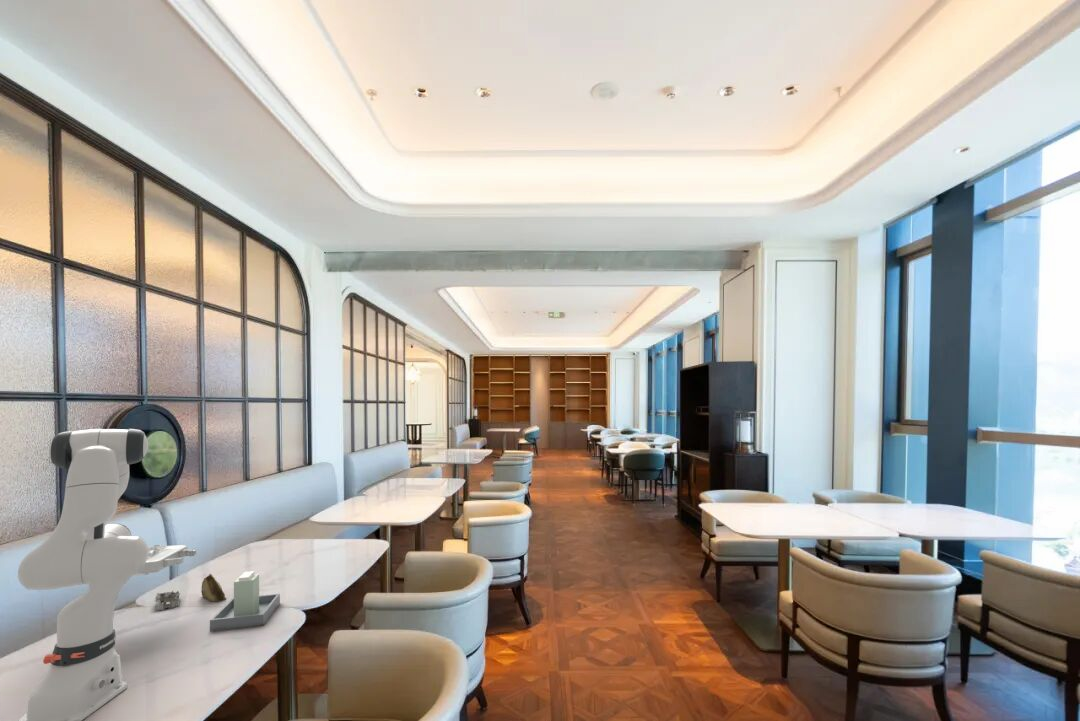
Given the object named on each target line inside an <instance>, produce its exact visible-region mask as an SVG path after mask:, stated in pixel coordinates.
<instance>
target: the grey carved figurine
mask: <svg viewBox="0 0 1080 721" xmlns="http://www.w3.org/2000/svg"><path fill="white" fill-rule="evenodd" d="M180 595H181V593H180V591H179V590H177V591H175V592H174V590H171V591H167V592H162V593H161V592H157V593H156V595H155V597H154V601H153V602H154V603H155V611H162V610H165V609H167V608H171V609H172V608H176V607H178V606H179V603H180ZM162 602H163V603H162Z"/></svg>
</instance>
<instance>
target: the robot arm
mask: <svg viewBox="0 0 1080 721" xmlns="http://www.w3.org/2000/svg"><path fill="white" fill-rule="evenodd" d="M148 451H149V439H148V437H147V435H146V434H145V432H144V431H142V430H141V429H135V428H128V429H120V428H118V429H117V428H107V429H105V428H92V429H83V430H75V431H74V430H68V431H63V432H59V433H58V434H56V435H55V436H53V438H52V441H51V442H50V444H49V447H48V456H49V458H50V461H51V463H52V465H54V466H55V467H57V468H60V469H63V470H64V471H68V472H67V475H66V476H67V477H66V482H65V489H64V498H63V505H62V510H61V515H60V519H59V521H58V523H57V525H56V527H55V529H54V530H53V531H52V532H51V534H50V535H49V536H48V537H47V538H46V540H44V541H43V542H42V543H41V544H40V545H39V546H37V547H36V548H34V549H33V550H30V552H28V553H27V554H26V555H25V556H24V558H23V559H22V560H21V562H20V564H19V565H18V570H17V578H18V581H19V583H20V585H21V586H23V587H24V589H27V590H30V591H38V590H39V591H42V590H43V591H47V590H58V589H63V588H68V587H69V588H70V587H75V586H82V585H88V591H87V592H86V593H84V594H82V595H80V596H78V597H77V598H75V599H73V600H71V601H70V602H68V603H67V604H65V605H64V606H63V607H62V608H61V610H60V611H59V612H58V614H57V618H56V643H55V645H54V648H53V650H52V653H51V654H46V655H44V657H43V664H44V665H48V664H50V666H49V668H48V669H47V670H46V672H45V674H44V675H43V676H42V678H41V679H40V681H39V683H38V684H37V686H36V687H35V689H34V691H33V692H32V693H31V695H30V696H29V699H28V703H27V709H26V710H27V711H26V712H25V713H24V714H23V715H22V716H21V717H20V718H19V719H18V721H83V720H84V719H86V718H87V717H89V716H90V715H91V714H93V713H94V712H96V711H97V710H98V709H100V708H101V707H103V705H105V704H107V703H108V702H109V701H111V700H112V699H114V698H115V697H116V696H118V695H119V694H120V693H122V692H123V691H124V690H126V689H127V688H128V683H127V682H126V681H124V680H123V674H122V664H121V656H120V654H119V653H118V652H117V651H116V649H115V647H114V646H115V645H116V638H117V634H116V630H115V628H114V617H115V606H116V601H117V598H118V596H119V593H120V592H121V590H122V589H123V588H124V586H125V584H126V583H127V582H128V581H129V580H130V579H131V578H132V577H136V576H146V575H149V574H152V573H158V572H160V571H162V570H164V569H166V568H168V567H171V566H175V565H181V564H183V563H184V558H185V557H194V556H196V555H197V554H198V550H197V549H188V545H184V544H180V545H179V544H178V545H177V544H175V545H165V546H163V544H156V545H152V546H150V545H149V546H148V544H147V542H146V541H145V540H144V539H143V538H142V537H141V536H138V535H137V536H136V535H132V532H131V531H130V528H128V527H127V526H126V525H124V524H121V523H117V522H115V523H114V522H111V523H107V521H109V520H110V519H112V518H113V517H114V516H115V514H116V513H117V511H118V503H119V502H118V501H119V499H120V498H121V497H122V495H123V494H124V493H125V492H126V490H127V488H128V484H129V480H130V465H133V464H137V463H139V462H141V461H142V460H144V458H145V456H146V455H147V453H148ZM106 523H107V524H106Z"/></svg>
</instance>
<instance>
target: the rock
mask: <svg viewBox="0 0 1080 721" xmlns="http://www.w3.org/2000/svg"><path fill="white" fill-rule="evenodd" d="M200 591H201V596H202V597H203V598H204V599H207V600H209V601H212V602H218V601H219V602H220V601H224V600H227V598H226V594H225V592H224V591H223V588H222V586H221V584H220V582H219V581H217V579H216V577H215V576H214V575H213V574H212V573H209V574H208V575H207V576H206V577H204V578H203V581H202V583H201V590H200Z"/></svg>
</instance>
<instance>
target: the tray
mask: <svg viewBox="0 0 1080 721" xmlns="http://www.w3.org/2000/svg"><path fill="white" fill-rule="evenodd" d="M280 604H281V594H280V593H274V594H263V595H262V594H261V595H259V610H258V611H257V612H256V614H255V615H245V616H236V617H234V597H233V598H230V599H229V601H228V602H226V603H225V604H224V606H223V607H221V608H220V609H219V611H217V613H215V615H214V616H212V617H211V619H209V632H214V631H215V632H217V631H224V630H234V629H243V628H251V627H253V628H254V627H261V626H265V624H266V623H267V621H268V620H269V619H270V618H271V616H272V614H273V613H274V612H275V611H276V610H277V608H278V606H280Z"/></svg>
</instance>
